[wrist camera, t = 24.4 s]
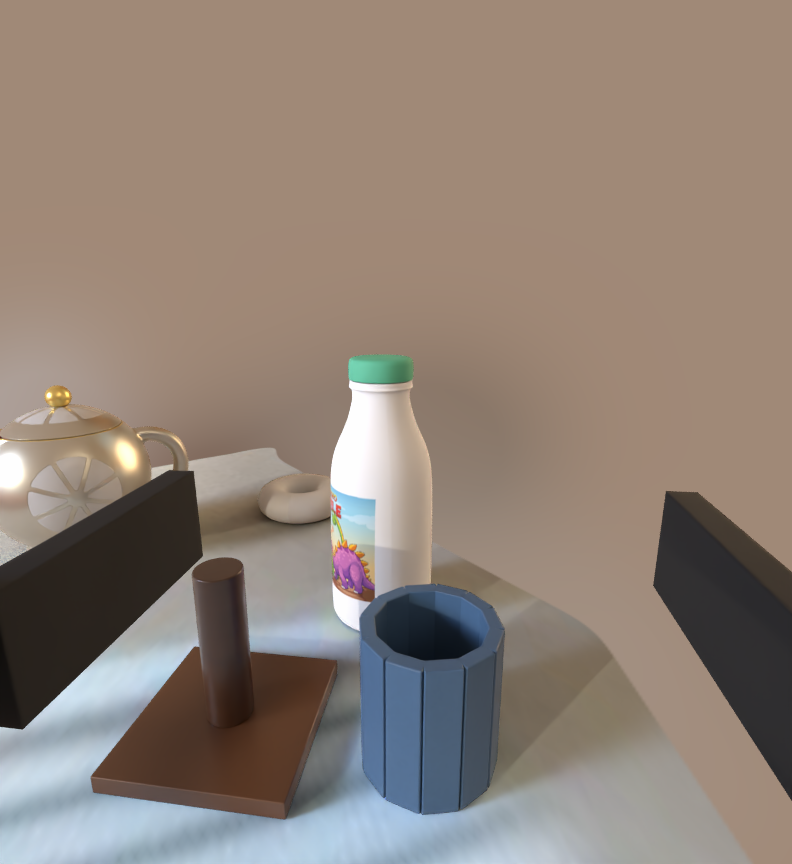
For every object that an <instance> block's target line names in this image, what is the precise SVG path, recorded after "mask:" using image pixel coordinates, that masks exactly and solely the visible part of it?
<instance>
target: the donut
mask: <svg viewBox="0 0 792 864" xmlns="http://www.w3.org/2000/svg"><path fill="white" fill-rule="evenodd" d="M330 494H331V478H330V477H327V476H323V475H318V474H294V475H288V476H283V477H280V478H277V479H275V480H272V481H270V482H269V483H267V484H266V485H265V486H264V487H263V488H262V490H261V491H260V493H259V495H258V504H259V507H260V510H261V511H262V513H263V514H265V515H266V516H267V517H269V518H270V519H272V520H275V521H278V522H283V523H291V524H304V523H311V522H316V521H320V520H323V519H326V518H328V517H330V516H331V499H330Z"/></svg>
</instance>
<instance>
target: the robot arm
mask: <svg viewBox="0 0 792 864" xmlns="http://www.w3.org/2000/svg"><path fill="white" fill-rule="evenodd" d="M202 556H203V553H202V544H201V534H200V525H199V516H198V507H197V498H196V489H195V479H194V471H177V470H169V471H167V472H165V473H164V474H162V475H160V476H158V477H156V478H155V479H153V480H151V481H149V482H148V483H146V484H144V485H142V486H141V487H139V488H137V489H135V490H134V491H132V492H130V493H128V494H127V495H125V496H123V497H121V498H120V499H118V500H116V501H114V502H112V503H111V504H109V505H107V506H105V507H104V508H102V509H100V510H98V511H97V512H95V513H93V514H91V515H90V516H88V517H86V518H84V519H83V520H81V521H79V522H77V523H76V524H74V525H72V526H70V527H68V528H67V529H65V530H63V531H61V532H60V533H58V534H56V535H54V536H53V537H51V538H49V539H47V540H46V541H44V542H42V543H40V544H39V545H37V546H35V547H33V548H32V549H30V550H28V551H26V552H24V553H23V554H21V555H19V556H17V557H16V558H14V559H12V560H10V561H9V562H7V563H5V564H3V565H2V566H0V727H6V728H15V729H24V728H25V727H26V726H27V725H28V724H29V723H30V722H31V721H32V720H33V719H34V718H35V717H36V716H37V715H38V714H39V713H40V712H41V711H42V710H43V709H44V708H45V707H47V706H48V705H49V704H50V703H51V702H52V701H53V700H54V699H55V698H56V697H57V696H58V695H59V694H60V693H61V692H62V691H63V690H64V689H65V688H66V687H67V686H68V685H69V684H70V683H71V682H73V681H74V680H75V679H76V678H77V677H78V676H79V675H80V674H81V673H82V672H83V671H84V670H85V669H86V668H87V667H88V666H89V665H90V664H91V663H92V662H93V661H94V660H95V659H96V658H97V657H98V656H100V655H101V654H102V653H103V652H104V651H105V650H106V649H107V648H108V647H109V646H110V645H111V644H112V643H113V642H114V641H115V640H116V639H117V638H118V637H119V636H120V635H121V634H122V633H123V632H124V631H126V630H127V629H128V628H129V627H130V626H131V625H132V624H133V623H134V622H135V621H136V620H137V619H138V618H139V617H140V616H141V615H142V614H143V613H144V612H145V611H146V610H147V609H148V608H149V607H150V606H152V605H153V604H154V603H155V602H156V601H157V600H158V599H159V598H160V597H161V596H162V595H163V594H164V593H165V592H166V591H167V590H168V589H169V588H170V587H171V586H172V585H173V584H174V583H175V582H176V581H177V580H179V579H180V578H181V577H182V576H183V575H184V574H185V573H186V572H187V571H188V570H189V569H190V568H191V567H192V566H193V565H194V564H195V563H196V562H197V561H198V560H199V559H200V558H201V557H202ZM653 586H654V587H655V589H656V591H657V592H658V594H659V595H660V597H661V598H662V600H663V602H664V603H665V605H666V606H667V608H668V609H669V611H670V612H671V614H672V615H673V617H674V619H675V620H676V622H677V623H678V625H679V626H680V628H681V630H682V631H683V632H684V634H685V635H686V637H687V639H688V640H689V642H690V643H691V645H692V646H693V648H694V650H695V651H696V653H697V654H698V656H699V657H700V659H701V660H702V662H703V664H704V665H705V667H706V668H707V670H708V671H709V673H710V675H711V676H712V677H713V679H714V681H715V682H716V684H717V685H718V687H719V689H720V690H721V692H722V693H723V695H724V696H725V698H726V699H727V701H728V702H729V704H730V706H731V707H732V709H733V710H734V712H735V713H736V715H737V716H738V718H739V720H740V721H741V723H742V724H743V726H744V727H745V729H746V730H747V732H748V734H749V735H750V737H751V738H752V740H753V741H754V743H755V744H756V746H757V747H758V749H759V750H760V752H761V754H762V755H763V757H764V758H765V760H766V761H767V763H768V765H769V766H770V768H771V769H772V771H773V772H774V774H775V775H776V777H777V779H778V780H779V782H780V783H781V785H782V786H783V788H784V789H785V791H786V793H787V794H788V796H789V797H790V799H791V800H792V572H791V571H790V570H789V569H788V568H786V567H785V566H784V565H783V564H782V563H780V562H779V561H778V560H777V559H776V558H774V557H773V556H772V555H771V554H770V553H769V552H767V551H766V550H765V549H764V548H763V547H761V546H760V545H759V544H758V543H757V542H756V541H754V540H753V539H752V538H751V537H750V536H748V535H747V534H746V533H745V532H744V531H742V530H741V529H740V528H739V527H738V526H737V525H735V524H734V523H733V522H732V521H731V520H730V519H728V518H727V517H726V516H725V515H723V514H722V513H721V512H720V511H719V510H718V509H716V508H715V507H714V506H713V505H712V504H711V503H709V502H708V501H707V500H706V499H704V498H703V497H702V496H701V495H700V494H699V493H698V492H673V491H666V495H665V503H664V510H663V518H662V525H661V533H660V540H659V547H658V555H657V562H656V570H655V577H654V585H653Z"/></svg>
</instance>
